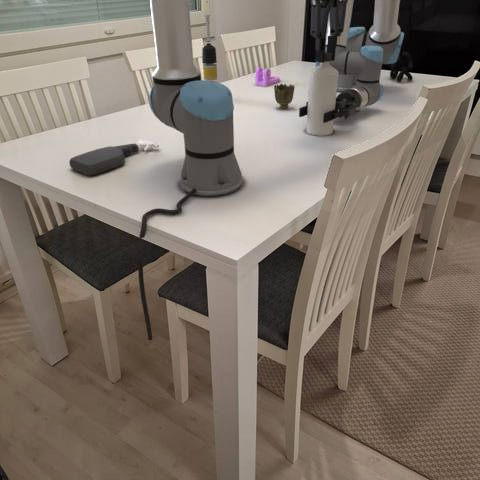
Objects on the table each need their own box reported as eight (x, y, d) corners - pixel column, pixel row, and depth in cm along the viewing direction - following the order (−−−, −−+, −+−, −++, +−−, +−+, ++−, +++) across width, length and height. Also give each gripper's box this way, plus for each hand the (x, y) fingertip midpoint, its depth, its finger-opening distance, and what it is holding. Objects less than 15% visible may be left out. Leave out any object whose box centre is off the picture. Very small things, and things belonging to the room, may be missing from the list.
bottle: (311, 136, 138) (317, 58, 126) (302, 128, 145) (306, 53, 133) (337, 134, 140) (344, 56, 128) (326, 126, 147) (333, 51, 135)
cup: (270, 109, 164) (270, 87, 160) (278, 104, 169) (278, 82, 165) (289, 111, 161) (290, 89, 157) (296, 106, 166) (297, 84, 162)
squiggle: (400, 92, 202) (376, 71, 205) (417, 76, 202) (392, 56, 205) (405, 81, 191) (380, 59, 194) (423, 64, 191) (397, 42, 194)
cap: (317, 61, 130) (318, 53, 129) (319, 59, 133) (319, 50, 132) (331, 62, 129) (331, 53, 128) (332, 59, 133) (333, 51, 131)
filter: (220, 99, 177) (217, 15, 161) (206, 100, 176) (202, 16, 160) (215, 96, 182) (212, 14, 166) (202, 97, 180) (197, 14, 164)
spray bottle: (67, 168, 120) (139, 144, 136) (91, 178, 114) (163, 151, 130) (65, 157, 118) (137, 134, 134) (89, 167, 112) (162, 142, 128)
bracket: (265, 86, 195) (266, 69, 191) (255, 84, 197) (255, 68, 194) (281, 80, 203) (282, 64, 200) (271, 79, 206) (271, 63, 203)
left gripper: (321, -32, 112) (314, 66, 124) (363, -33, 121) (353, 59, 133) (299, -32, 117) (295, 63, 130) (342, -33, 126) (334, 55, 138)
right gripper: (378, 117, 146) (340, 134, 132) (324, 105, 159) (284, 120, 145) (382, 94, 142) (343, 109, 128) (326, 84, 155) (285, 97, 141)
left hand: (325, 60), depth 131 cm, fingers closed on cap, 4 cm apart
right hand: (312, 115), depth 137 cm, fingers closed on bottle, 8 cm apart
